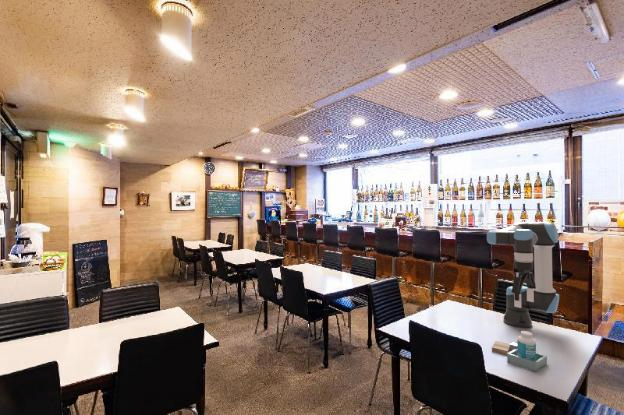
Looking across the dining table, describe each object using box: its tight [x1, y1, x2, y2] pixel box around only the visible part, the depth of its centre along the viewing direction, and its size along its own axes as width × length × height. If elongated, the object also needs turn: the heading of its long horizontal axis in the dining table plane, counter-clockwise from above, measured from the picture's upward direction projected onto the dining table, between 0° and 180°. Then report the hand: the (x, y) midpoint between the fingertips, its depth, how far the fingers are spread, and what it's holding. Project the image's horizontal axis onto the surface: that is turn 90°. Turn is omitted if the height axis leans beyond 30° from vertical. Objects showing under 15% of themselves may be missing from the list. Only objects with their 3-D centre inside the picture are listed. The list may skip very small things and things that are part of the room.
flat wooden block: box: [491, 340, 511, 356], centre depth 163 cm, size 10×7×2 cm
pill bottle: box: [516, 330, 537, 362], centre depth 149 cm, size 8×7×14 cm
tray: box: [506, 348, 548, 373], centre depth 149 cm, size 12×12×4 cm
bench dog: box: [509, 341, 517, 352], centre depth 158 cm, size 4×3×5 cm
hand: (524, 304), depth 153 cm, fingers open, 13 cm apart
